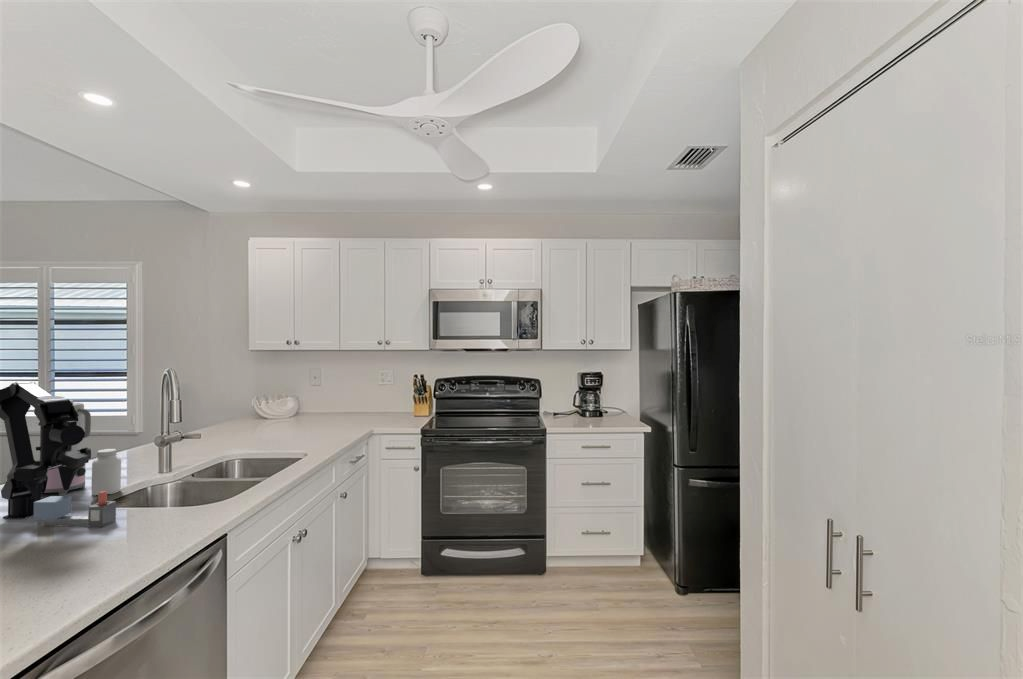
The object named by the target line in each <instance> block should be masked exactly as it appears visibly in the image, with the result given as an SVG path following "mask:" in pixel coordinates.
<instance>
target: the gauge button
mask: <svg viewBox="0 0 1023 679" xmlns="http://www.w3.org/2000/svg"><path fill="white" fill-rule="evenodd" d="M107 501H108V495H107V491H101V492H98V497H97V503H98V505H106V504H107Z"/></svg>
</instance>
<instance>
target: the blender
mask: <svg viewBox="0 0 1023 679" xmlns="http://www.w3.org/2000/svg"><path fill="white" fill-rule="evenodd" d="M69 400H70V402H72V404H73V406H74V408H75V410H76V412H77V414H78V421H76V422H77V426H80V427H82V428H83V430H84V432H85V436H84V438H83V439H85V438H88V437H89V436H91V428H92V422H91V421H92V417H91V415H92V414H91V412H90V411H89V410H87V409H85V404H84V403H83V402H74V400H73V399H69ZM68 417H69V415H68ZM82 443H83V440H82V441H81V442H80V443H78V444H76V445H72V450H81V449H82ZM49 467H51V466H49ZM86 472H87V470H86V465H85V466H83V467H81V468H80V469H79V470H78V471H77V472H76V474H75V476H74V478H73V480H72V483H71V485H70V488H69V490H64V489H63V486H62V482H61V477H60V473H59V469H58V468H55V469H51V470H48V471H47V474H46V475H47V476H48V481H47V485H46V490H45V492H43V493H46V494H47V493H48V494H49V493H58V496H64V494H65V495H68V491H71V490H75V489H79V488H80V489H81V490H84V489H85V487H86ZM83 488H84V489H83ZM43 493H42V494H43Z"/></svg>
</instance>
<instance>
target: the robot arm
mask: <svg viewBox="0 0 1023 679" xmlns="http://www.w3.org/2000/svg"><path fill="white" fill-rule="evenodd" d="M70 400H71V399H69V398H67V397H64V396H57V395H52V394H50V393H49V392H47V391H46V390H44V389H42V388H41V387H40V386H38V385H37V383H36V382H34V381H16V382H13V383H10V385H8V386H6V387H4V388H2V389H0V419H1V420H2V421H3V423H4V428H5V434H6V437H7V438H6V439H7V443H8V448H9V454H10V458H11V464H12V466H11V468H10V470H9V472H8V473H7V475H6V482H5V483H4V485H3V486H2V489H1V490H0V495H1V496H0V497H1V498H2V499H4V500H7V515H4V516H2V519H27V518H29V517H32V516H34V502H36V501H39V500H41V499H42V496H43V492H45V490H46V485H47V481H48V476H47V475H46V474H47V471H48V470H51V469H55V468H58V469H59V473H60V477H61V482H62V486H63V489H64V490H68V491H70V490H69V488H70V485H71V483H72V480H73V478H74V476H75V474H76V472H77V471H78V470H79V469H80V468H81V467H83V466H85V467H86V464H88V463H89V461H90V460H91V458H92V449H91V448H90V447H87V446H86V447H83V448H82V447H81V450H72V445H76V444H78V443H80V442H81V441H82V442H83V440H84V439H85V438H84V436H85V432H84V430H83V428H82V427H80V426H77V422H76V421H78V414H77V412H76V410H75V408H74V406H73V404H72V402H70ZM31 406H32V407H33V408H34V409H33V410H34V411H33V414H34V415H35V416H36V419H37V420H38V421H39V422H38V424H37V425H38V426H39V427H40V429H39V430H40V433H39V436H40V438H39V439H40V440H39V445H38V446H35V451H39V460H35V457H34V452H33V448H32V444H31V438H30V433H29V428H28V424H27V419H26V416H27V414H28V412H29V410H30V408H31ZM68 415H69V417H68ZM49 466H51V467H49Z"/></svg>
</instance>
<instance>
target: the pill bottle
mask: <svg viewBox="0 0 1023 679" xmlns="http://www.w3.org/2000/svg"><path fill="white" fill-rule="evenodd" d="M117 453H118V452H117V449H116V448H105V449H99V450H98V451H96V456H97V457H96V458H95V459H94V460H93V461H92V463H91V495H93V496H96V495H98V492H101V491H107V494H110V495H114V494H117V493H119V492H120V491H121V485H122V484H121V483H122V482H121V481H122V480H121V479H122V459H121V457H119V456H117Z"/></svg>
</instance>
